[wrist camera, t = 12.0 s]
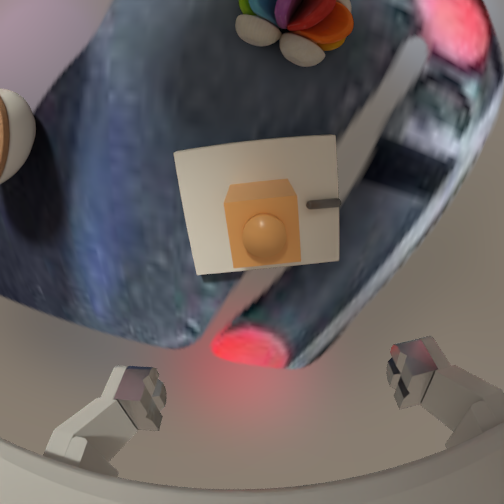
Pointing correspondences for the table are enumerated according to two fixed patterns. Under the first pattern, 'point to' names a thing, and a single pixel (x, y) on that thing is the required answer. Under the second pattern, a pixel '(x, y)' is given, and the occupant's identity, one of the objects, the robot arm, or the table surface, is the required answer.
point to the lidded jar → (14, 133)
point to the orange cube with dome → (263, 223)
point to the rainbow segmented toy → (296, 26)
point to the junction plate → (253, 170)
